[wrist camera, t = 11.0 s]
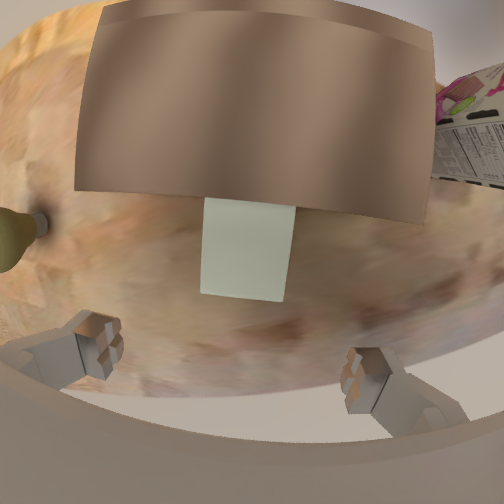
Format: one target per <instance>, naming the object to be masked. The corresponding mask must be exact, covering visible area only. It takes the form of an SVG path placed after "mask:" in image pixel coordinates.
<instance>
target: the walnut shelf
mask: <svg viewBox="0 0 504 504" xmlns="http://www.w3.org/2000/svg"><path fill="white" fill-rule="evenodd" d="M435 115H436V84H435V63H434V49H433V39H432V32H430V31H428V30H426V29H423V28H421V27H419V26H416V25H413V24H411V23H408V22H406V21H403V20H400V19H398V18H395V17H392V16H389V15H386V14H383V13H380V12H376V11H373V10H370V9H366V8H363V7H359V6H355V5H351V4H347V3H343V2H338V1H334V0H129V1H124V2H120V3H116V4H112V5H108V6H104V7H103V11H102V14H101V17H100V20H99V23H98V27H97V30H96V34H95V37H94V41H93V45H92V49H91V53H90V58H89V62H88V67H87V72H86V77H85V82H84V88H83V93H82V100H81V107H80V114H79V123H78V132H77V143H76V158H75V185H74V191H96V192H125V193H147V194H164V195H180V196H194V197H207V198H219V199H230V200H241V201H251V202H261V203H270V204H279V205H288V206H296V207H304V208H312V209H320V210H328V211H335V212H342V213H349V214H356V215H362V216H369V217H375V218H382V219H388V220H394V221H400V222H405V223H411V224H417V225H422V226H423V225H424V220H425V214H426V208H427V202H428V195H429V188H430V181H431V172H432V163H433V152H434V138H435Z"/></svg>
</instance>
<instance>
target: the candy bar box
mask: <svg viewBox="0 0 504 504" xmlns="http://www.w3.org/2000/svg"><path fill="white" fill-rule="evenodd" d="M431 178H435V179H444V180H451V181H458V182H463V183H470V184H476V185H481V186H487V187H492V188H498V189H503V190H504V63H500V64H497V65H494V66H492V67H489V68H485V69H482V70H480V71H477V72H474V73H471V74H469V75H466V76H463V77H460V78H458V79H456V80H455V81H454V82H452V83H451V84H450V85H449V86H448V87H446V88H445V89H444V90H443V91H442V92H440V93H439V94H438V95H437V96H436V115H435V138H434V152H433V163H432V172H431Z"/></svg>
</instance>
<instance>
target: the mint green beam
mask: <svg viewBox="0 0 504 504" xmlns="http://www.w3.org/2000/svg"><path fill="white" fill-rule="evenodd" d="M295 212H296V206H288V205H279V204H270V203H261V202H251V201H241V200H230V199H219V198H207V197H205V202H204V217H203V234H202V254H201V279H200V293H202V294H210V295H218V296H227V297H236V298H245V299H254V300H264V301H274V302H283V297H284V291H285V284H286V277H287V271H288V264H289V257H290V250H291V242H292V235H293V227H294V219H295Z"/></svg>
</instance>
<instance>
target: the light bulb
mask: <svg viewBox="0 0 504 504" xmlns="http://www.w3.org/2000/svg"><path fill="white" fill-rule="evenodd" d="M47 230H48V221H47V218H46V217H45V215H44V214H43V213H35V214H32V215H29V214H25V213H17V212H14V211H12V210H10V209H7V208H2V207H0V273H3V272H6V271H8V270H10V269H12V268H13V267H14V266H15V265H16V264H17V263H18V262H19V260H20V259H21V257H22V256H23V254H24V252H25V250H26V249H27V247H28V246H30V245H31V244H32V243H33V242H34V240H35V239H36V238H39V237H41V236H43V235H45V234H46V233H47Z"/></svg>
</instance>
